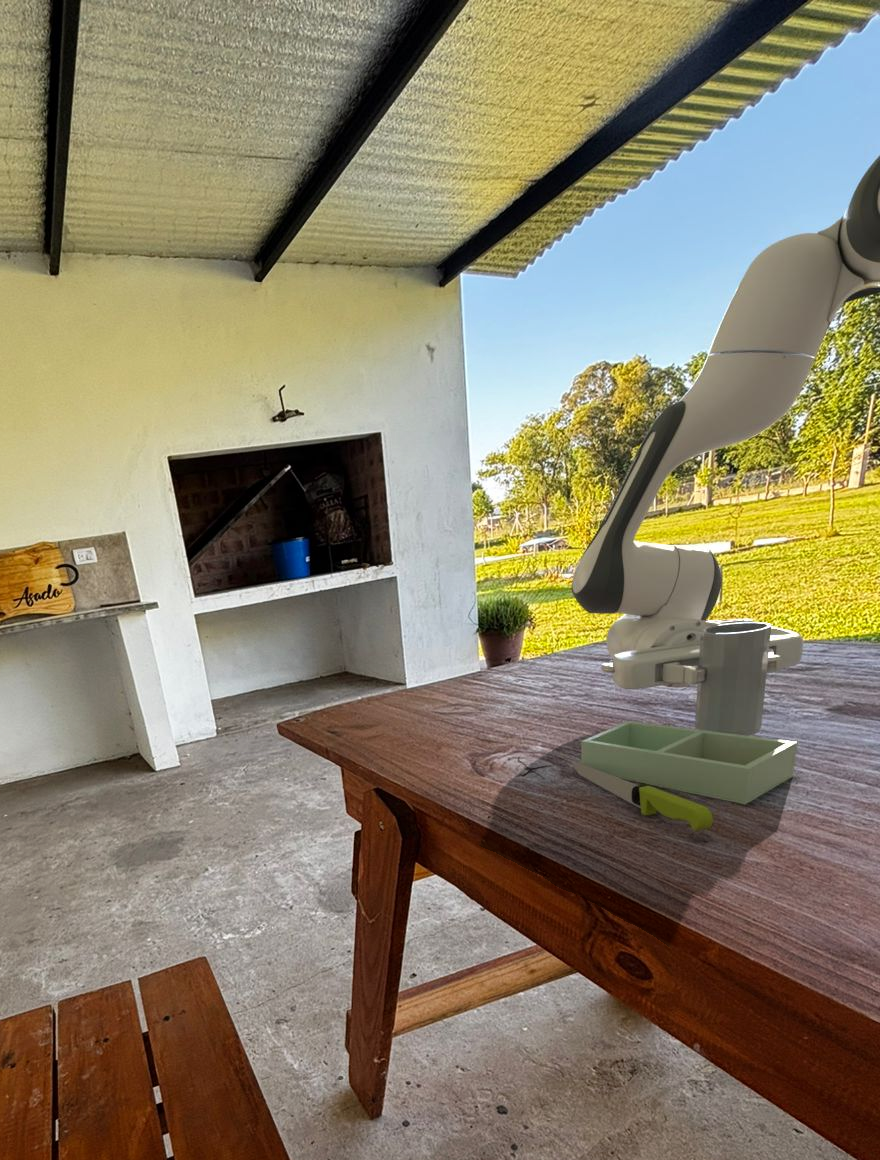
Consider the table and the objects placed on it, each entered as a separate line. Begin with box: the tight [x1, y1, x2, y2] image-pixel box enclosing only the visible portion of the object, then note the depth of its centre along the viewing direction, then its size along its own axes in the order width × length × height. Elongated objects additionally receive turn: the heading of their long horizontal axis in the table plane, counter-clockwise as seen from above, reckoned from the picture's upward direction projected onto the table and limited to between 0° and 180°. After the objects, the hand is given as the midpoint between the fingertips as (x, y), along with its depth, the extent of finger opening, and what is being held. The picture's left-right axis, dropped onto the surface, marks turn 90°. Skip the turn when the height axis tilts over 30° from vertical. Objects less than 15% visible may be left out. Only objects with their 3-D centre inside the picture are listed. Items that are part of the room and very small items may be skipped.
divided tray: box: [580, 720, 798, 805], centre depth 68 cm, size 9×18×4 cm, turn 30°
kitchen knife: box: [570, 760, 714, 832], centre depth 64 cm, size 22×1×3 cm, turn 5°
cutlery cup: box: [694, 621, 773, 736], centre depth 71 cm, size 6×6×12 cm
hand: (736, 671), depth 70 cm, fingers closed on cutlery cup, 6 cm apart
